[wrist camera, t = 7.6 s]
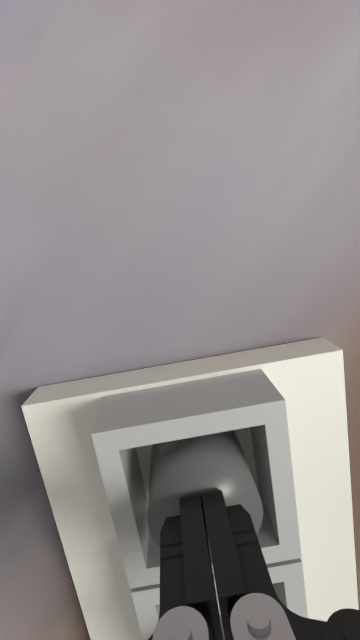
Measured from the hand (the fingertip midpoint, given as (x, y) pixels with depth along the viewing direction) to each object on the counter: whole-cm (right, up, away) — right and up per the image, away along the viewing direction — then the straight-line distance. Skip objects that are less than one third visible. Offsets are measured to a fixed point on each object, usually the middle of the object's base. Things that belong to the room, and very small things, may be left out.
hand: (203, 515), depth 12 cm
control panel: (+1, -6, +7) cm, 9 cm away
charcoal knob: (0, +1, +3) cm, 4 cm away
